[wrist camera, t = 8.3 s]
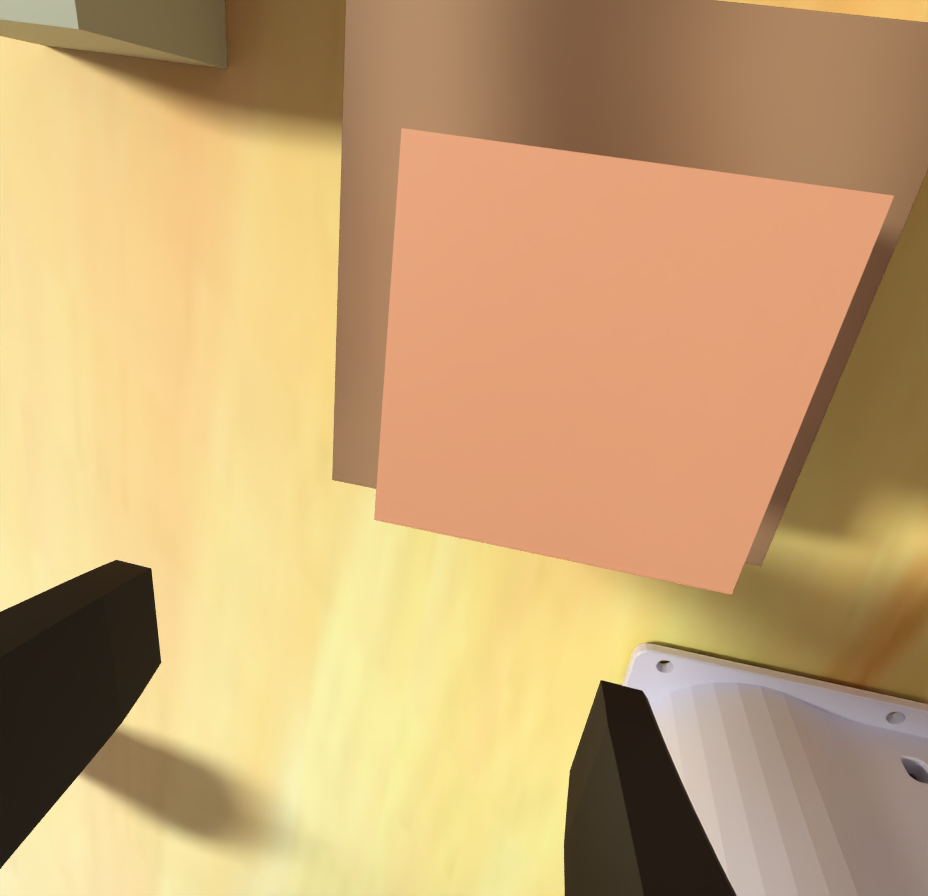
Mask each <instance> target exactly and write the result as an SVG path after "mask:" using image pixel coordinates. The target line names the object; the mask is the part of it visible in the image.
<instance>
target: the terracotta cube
mask: <svg viewBox="0 0 928 896" xmlns="http://www.w3.org/2000/svg"><path fill="white" fill-rule="evenodd" d="M893 198H894V196H893V195H886V194H878V193H871V192H864V191H856V190H849V189H842V188H835V187H827V186H820V185H813V184H805V183H798V182H791V181H784V180H776V179H769V178H762V177H754V176H747V175H740V174H732V173H725V172H718V171H711V170H703V169H696V168H689V167H681V166H674V165H667V164H660V163H652V162H645V161H638V160H630V159H623V158H616V157H609V156H601V155H594V154H587V153H579V152H572V151H565V150H557V149H550V148H543V147H536V146H528V145H521V144H514V143H506V142H499V141H492V140H485V139H477V138H470V137H463V136H455V135H448V134H441V133H434V132H426V131H419V130H412V129H404V128H401V143H400V157H399V171H398V186H397V200H396V214H395V229H394V243H393V258H392V272H391V286H390V301H389V315H388V330H387V344H386V358H385V373H384V387H383V401H382V416H381V430H380V445H379V459H378V473H377V488H376V502H375V516H374V520H377V521H382V522H387V523H392V524H397V525H401V526H406V527H411V528H416V529H420V530H425V531H430V532H435V533H439V534H444V535H449V536H454V537H458V538H463V539H468V540H473V541H477V542H482V543H487V544H492V545H496V546H501V547H506V548H511V549H516V550H520V551H525V552H530V553H535V554H539V555H544V556H549V557H554V558H558V559H563V560H568V561H573V562H577V563H582V564H587V565H592V566H596V567H601V568H606V569H611V570H616V571H620V572H625V573H630V574H635V575H639V576H644V577H649V578H654V579H658V580H663V581H668V582H673V583H677V584H682V585H687V586H692V587H696V588H701V589H706V590H711V591H716V592H720V593H725V594H730V595H732V592H733V590H734V588H735V585H736V583H737V580H738V578H739V575H740V573H741V570H742V568H743V566H744V563H745V561H746V558H747V556H748V553H749V551H750V548H751V546H752V543H753V541H754V539H755V536H756V534H757V531H758V529H759V526H760V524H761V521H762V519H763V517H764V514H765V512H766V509H767V507H768V504H769V502H770V499H771V497H772V494H773V492H774V490H775V487H776V485H777V482H778V480H779V477H780V475H781V472H782V470H783V467H784V465H785V463H786V460H787V458H788V455H789V453H790V450H791V448H792V445H793V443H794V441H795V438H796V436H797V433H798V431H799V428H800V426H801V423H802V421H803V418H804V416H805V414H806V411H807V409H808V406H809V404H810V401H811V399H812V396H813V394H814V392H815V389H816V387H817V384H818V382H819V379H820V377H821V374H822V372H823V369H824V367H825V365H826V362H827V360H828V357H829V355H830V352H831V350H832V347H833V345H834V343H835V340H836V338H837V335H838V333H839V330H840V328H841V325H842V323H843V320H844V318H845V316H846V313H847V311H848V308H849V306H850V303H851V301H852V298H853V296H854V293H855V291H856V289H857V286H858V284H859V281H860V279H861V276H862V274H863V271H864V269H865V267H866V264H867V262H868V259H869V257H870V254H871V252H872V249H873V247H874V244H875V242H876V240H877V237H878V235H879V232H880V230H881V227H882V225H883V222H884V220H885V218H886V215H887V213H888V210H889V208H890V205H891V203H892V200H893Z"/></svg>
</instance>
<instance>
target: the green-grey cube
mask: <svg viewBox="0 0 928 896" xmlns="http://www.w3.org/2000/svg"><path fill="white" fill-rule="evenodd" d="M0 36H4V37H8V38H13V39H17V40H22V41H26V42H31V43H35V44H40V45H45V46H52V47H60V48H68V49H76V50H84V51H91V52H99V53H107V54H115V55H123V56H131V57H138V58H146V59H154V60H162V61H170V62H178V63H185V64H193V65H201V66H209V67H217V68H225V69H228V62H227V39H226V16H225V0H0Z"/></svg>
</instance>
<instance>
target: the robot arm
mask: <svg viewBox="0 0 928 896" xmlns="http://www.w3.org/2000/svg"><path fill="white" fill-rule="evenodd" d="M662 660H667V661H670V662H669V663H666V664H661V663H659V661H662ZM160 664H161V657H160V647H159V638H158V628H157V619H156V609H155V600H154V590H153V581H152V571H151V568H147V567H143V566H139V565H135V564H131V563H127V562H123V561H119V560H115V561H113V562H110V563H108V564H105V565H103V566H101V567H98V568H96V569H94V570H91V571H89V572H87V573H84V574H82V575H80V576H78V577H75V578H73V579H71V580H69V581H67V582H64V583H62V584H60V585H58V586H56V587H54V588H51V589H49V590H47V591H45V592H43V593H41V594H38V595H36V596H34V597H32V598H30V599H28V600H25V601H23V602H21V603H19V604H17V605H15V606H12V607H10V608H8V609H6V610H3V611H1V612H0V869H1V867H2V866H3V865H4V864H5V862H6V861H7V860H8V859H9V858H10V856H11V855H12V854H13V853H14V852H15V850H16V849H17V848H18V847H19V846H20V844H21V843H22V842H23V841H24V840H25V839H26V837H27V836H28V835H29V834H30V833H31V831H32V830H33V829H34V828H35V827H36V825H37V824H38V823H39V822H40V821H41V819H42V818H43V817H44V816H45V815H46V813H47V812H48V811H49V810H50V809H51V808H52V806H53V805H54V804H55V803H56V802H57V800H58V799H59V798H60V797H61V796H62V794H63V793H64V792H65V791H66V790H67V788H68V787H69V786H70V785H71V784H72V783H73V781H74V780H75V779H76V778H77V777H78V775H79V774H80V773H81V772H82V771H83V769H84V768H85V767H86V766H87V765H88V763H89V762H90V761H91V760H92V758H93V757H94V756H95V755H96V754H97V752H98V751H99V750H100V749H101V748H102V746H103V745H104V744H105V743H106V742H107V740H108V739H109V738H110V737H111V735H112V734H113V733H114V732H115V730H116V729H117V728H118V727H119V726H120V724H121V723H122V722H123V720H124V719H125V717H126V716H127V714H128V713H129V711H130V710H131V708H132V707H133V706H134V704H135V703H136V701H137V700H138V698H139V697H140V695H141V694H142V692H143V691H144V689H145V687H146V686H147V684H148V683H149V681H150V679H151V678H152V676H153V675H154V673H155V672H156V670H157V668H158V667H159V665H160ZM891 712H895V713H892V714H889V713H891ZM564 875H565V896H928V704H925V703H920V702H916V701H911V700H907V699H902V698H897V697H893V696H888V695H884V694H879V693H875V692H870V691H866V690H861V689H856V688H852V687H847V686H843V685H838V684H834V683H829V682H824V681H820V680H815V679H811V678H806V677H802V676H797V675H793V674H788V673H783V672H779V671H774V670H770V669H765V668H761V667H756V666H751V665H747V664H742V663H738V662H733V661H729V660H724V659H720V658H715V657H710V656H706V655H701V654H697V653H692V652H688V651H683V650H678V649H674V648H669V647H665V646H660V645H656V644H649V643H645V644H641V645H639V646H637V647H636V648H635V649H634V650H633V652H632V655H631V658H630V661H629V664H628V667H627V670H626V674H625V677H624V680H623V683H622V685H618V684H614V683H610V682H606V681H602V680H601V681H600V684H599V687H598V690H597V693H596V696H595V699H594V702H593V705H592V708H591V711H590V714H589V717H588V719H587V722H586V725H585V728H584V731H583V734H582V737H581V740H580V743H579V746H578V749H577V752H576V755H575V758H574V761H573V763H572V766H571V769H570V776H569V788H568V800H567V812H566V825H565V839H564Z"/></svg>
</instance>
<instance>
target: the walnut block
mask: <svg viewBox="0 0 928 896" xmlns="http://www.w3.org/2000/svg"><path fill="white" fill-rule="evenodd" d="M401 128H404V129H412V130H419V131H426V132H434V133H441V134H448V135H455V136H463V137H470V138H477V139H485V140H492V141H499V142H506V143H514V144H521V145H528V146H536V147H543V148H550V149H557V150H565V151H572V152H579V153H587V154H594V155H601V156H609V157H616V158H623V159H630V160H638V161H645V162H652V163H660V164H667V165H674V166H681V167H689V168H696V169H703V170H711V171H718V172H725V173H732V174H740V175H747V176H754V177H762V178H769V179H776V180H784V181H791V182H798V183H805V184H813V185H820V186H827V187H835V188H842V189H849V190H856V191H864V192H871V193H878V194H886V195H893V196H894V198H893V200H892V203H891V205H890V208H889V210H888V213H887V215H886V218H885V220H884V222H883V225H882V227H881V230H880V232H879V235H878V237H877V240H876V242H875V244H874V247H873V249H872V252H871V254H870V257H869V259H868V262H867V264H866V267H865V269H864V271H863V274H862V276H861V279H860V281H859V284H858V286H857V289H856V291H855V293H854V296H853V298H852V301H851V303H850V306H849V308H848V311H847V313H846V316H845V318H844V320H843V323H842V325H841V328H840V330H839V333H838V335H837V338H836V340H835V343H834V345H833V347H832V350H831V352H830V355H829V357H828V360H827V362H826V365H825V367H824V369H823V372H822V374H821V377H820V379H819V382H818V384H817V387H816V389H815V392H814V394H813V396H812V399H811V401H810V404H809V406H808V409H807V411H806V414H805V416H804V418H803V421H802V423H801V426H800V428H799V431H798V433H797V436H796V438H795V441H794V443H793V445H792V448H791V450H790V453H789V455H788V458H787V460H786V463H785V465H784V467H783V470H782V472H781V475H780V477H779V480H778V482H777V485H776V487H775V490H774V492H773V494H772V497H771V499H770V502H769V504H768V507H767V509H766V512H765V514H764V517H763V519H762V521H761V524H760V526H759V529H758V531H757V534H756V536H755V539H754V541H753V543H752V546H751V548H750V551H749V553H748V556H747V558H746V561H745V563H747V564H752V565H757V566H761V565H762V563H763V560H764V558H765V556H766V553H767V551H768V549H769V546H770V544H771V541H772V539H773V537H774V534H775V532H776V529H777V527H778V525H779V522H780V520H781V518H782V515H783V513H784V510H785V508H786V506H787V503H788V501H789V499H790V496H791V494H792V491H793V489H794V487H795V484H796V482H797V479H798V477H799V475H800V472H801V470H802V468H803V465H804V463H805V460H806V458H807V456H808V453H809V451H810V449H811V446H812V444H813V441H814V439H815V437H816V434H817V432H818V430H819V427H820V425H821V422H822V420H823V418H824V415H825V413H826V410H827V408H828V406H829V403H830V401H831V399H832V396H833V394H834V391H835V389H836V387H837V384H838V382H839V380H840V377H841V375H842V372H843V370H844V368H845V365H846V363H847V361H848V358H849V356H850V353H851V351H852V349H853V346H854V344H855V341H856V339H857V337H858V334H859V332H860V330H861V327H862V325H863V322H864V320H865V318H866V315H867V313H868V311H869V308H870V306H871V303H872V301H873V299H874V296H875V294H876V291H877V289H878V287H879V284H880V282H881V280H882V277H883V275H884V272H885V270H886V268H887V265H888V263H889V261H890V258H891V256H892V253H893V251H894V249H895V246H896V244H897V242H898V239H899V237H900V234H901V232H902V230H903V227H904V225H905V222H906V220H907V218H908V215H909V213H910V211H911V208H912V206H913V203H914V201H915V199H916V196H917V194H918V192H919V189H920V187H921V184H922V182H923V180H924V177H925V175H926V173H927V170H928V22H918V21H909V20H899V19H889V18H880V17H870V16H861V15H851V14H841V13H832V12H822V11H812V10H803V9H793V8H784V7H774V6H764V5H755V4H745V3H736V2H726V1H716V0H346V20H345V55H344V90H343V125H342V160H341V195H340V230H339V265H338V300H337V335H336V370H335V404H334V439H333V474H332V480H335V481H340V482H345V483H350V484H355V485H360V486H365V487H370V488H375V489H376V488H377V473H378V459H379V445H380V430H381V416H382V401H383V387H384V373H385V358H386V344H387V330H388V315H389V301H390V286H391V272H392V258H393V243H394V229H395V214H396V200H397V186H398V171H399V157H400V143H401Z"/></svg>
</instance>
